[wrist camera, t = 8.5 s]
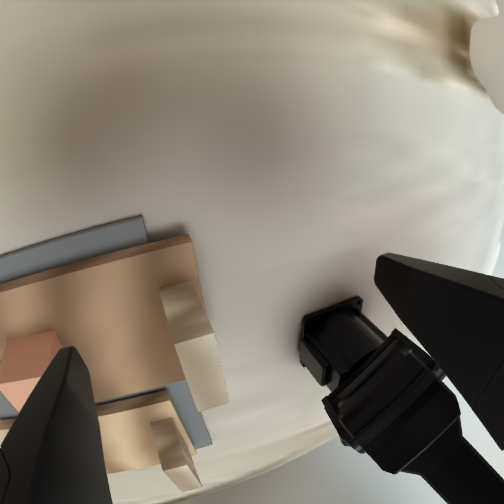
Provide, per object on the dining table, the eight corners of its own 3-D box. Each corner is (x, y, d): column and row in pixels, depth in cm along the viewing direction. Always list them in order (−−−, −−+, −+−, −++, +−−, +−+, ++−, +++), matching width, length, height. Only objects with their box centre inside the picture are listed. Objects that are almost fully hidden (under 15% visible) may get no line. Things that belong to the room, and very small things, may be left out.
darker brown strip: (187, 233, 19) (217, 287, 14) (213, 359, 24) (241, 419, 19) (-50, 299, 13) (-81, 359, 8) (20, 403, 19) (15, 463, 13)
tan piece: (166, 389, 24) (185, 450, 18) (194, 445, 29) (212, 492, 24) (-2, 420, 18) (-8, 474, 13) (53, 471, 23) (58, 515, 18)
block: (54, 329, 16) (47, 375, 13) (78, 372, 18) (78, 416, 15) (7, 341, 15) (-5, 384, 12) (33, 380, 17) (29, 424, 14)
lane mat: (142, 215, 18) (142, 218, 17) (211, 440, 31) (212, 444, 30) (-86, 287, 12) (-89, 291, 11) (59, 470, 25) (60, 473, 24)
